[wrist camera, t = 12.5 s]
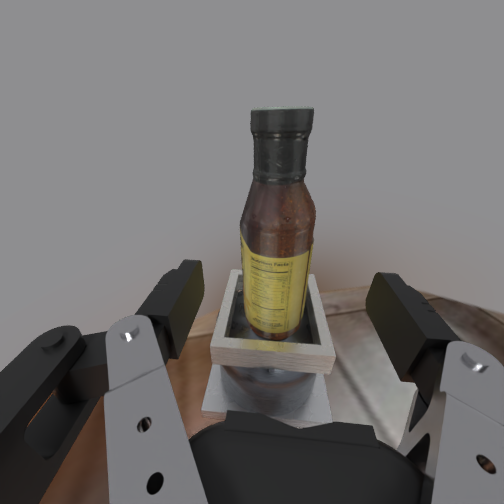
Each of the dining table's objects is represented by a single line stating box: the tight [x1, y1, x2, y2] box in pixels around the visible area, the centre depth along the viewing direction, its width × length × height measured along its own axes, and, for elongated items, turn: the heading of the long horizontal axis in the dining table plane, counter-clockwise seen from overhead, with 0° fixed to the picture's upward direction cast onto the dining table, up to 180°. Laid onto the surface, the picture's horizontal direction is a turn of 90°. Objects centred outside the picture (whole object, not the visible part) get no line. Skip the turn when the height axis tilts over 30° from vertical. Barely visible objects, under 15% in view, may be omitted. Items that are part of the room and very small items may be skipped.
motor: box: [201, 269, 336, 428], centre depth 27 cm, size 14×12×12 cm
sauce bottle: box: [240, 107, 316, 340], centre depth 20 cm, size 6×6×20 cm
